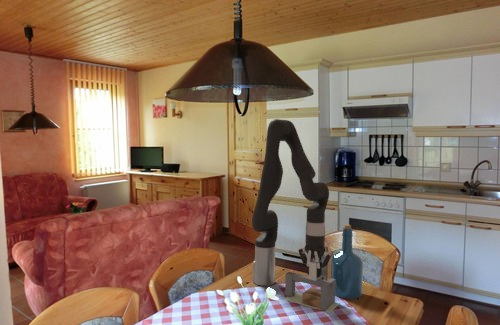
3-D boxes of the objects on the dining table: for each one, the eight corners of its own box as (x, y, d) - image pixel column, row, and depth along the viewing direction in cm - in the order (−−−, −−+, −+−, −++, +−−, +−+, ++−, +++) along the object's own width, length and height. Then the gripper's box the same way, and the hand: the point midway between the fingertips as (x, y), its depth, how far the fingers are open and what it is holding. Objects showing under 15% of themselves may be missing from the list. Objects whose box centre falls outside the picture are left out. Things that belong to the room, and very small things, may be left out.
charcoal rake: (281, 298, 145) (281, 259, 144) (292, 290, 153) (293, 253, 152) (325, 310, 134) (326, 268, 133) (335, 301, 142) (336, 261, 142)
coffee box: (313, 279, 170) (314, 245, 170) (327, 280, 169) (328, 246, 168) (312, 286, 161) (313, 251, 161) (327, 287, 160) (328, 252, 159)
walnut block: (302, 303, 140) (302, 293, 140) (310, 296, 147) (311, 287, 147) (321, 308, 136) (321, 298, 136) (329, 301, 143) (329, 291, 142)
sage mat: (283, 301, 144) (283, 299, 144) (294, 293, 152) (294, 291, 152) (330, 315, 133) (330, 312, 133) (339, 305, 141) (339, 303, 141)
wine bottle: (344, 286, 161) (346, 220, 160) (368, 297, 150) (370, 226, 149) (322, 292, 154) (324, 223, 153) (346, 304, 143) (348, 229, 142)
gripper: (294, 232, 142) (294, 275, 143) (328, 237, 134) (327, 282, 135) (303, 228, 148) (302, 269, 149) (335, 233, 140) (334, 277, 141)
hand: (314, 275), depth 142 cm, fingers closed on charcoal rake, 3 cm apart
